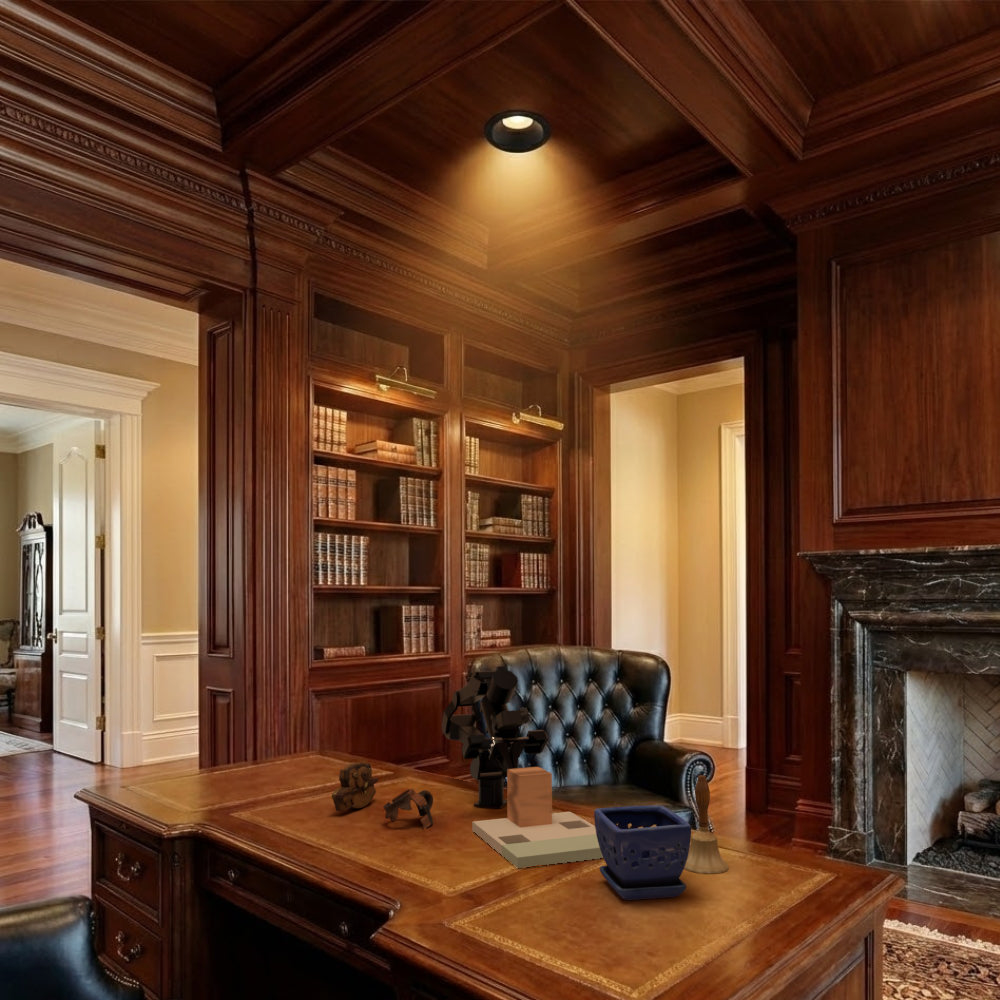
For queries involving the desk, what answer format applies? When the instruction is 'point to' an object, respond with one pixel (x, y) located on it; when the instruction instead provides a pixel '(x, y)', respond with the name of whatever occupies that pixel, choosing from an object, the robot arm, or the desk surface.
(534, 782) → the terracotta block
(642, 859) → the flower pot
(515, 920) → the desk surface
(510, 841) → the plate
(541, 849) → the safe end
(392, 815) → the brown arched piece
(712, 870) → the hand bell
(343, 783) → the wooden carving
